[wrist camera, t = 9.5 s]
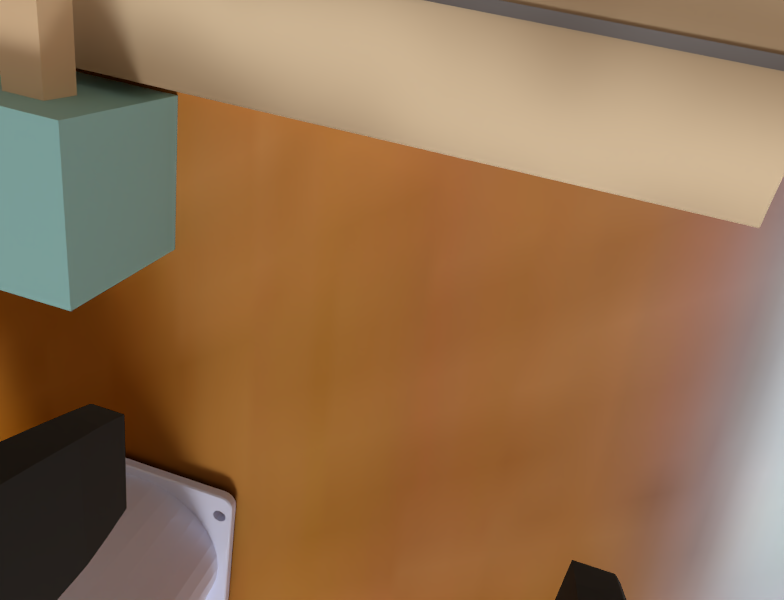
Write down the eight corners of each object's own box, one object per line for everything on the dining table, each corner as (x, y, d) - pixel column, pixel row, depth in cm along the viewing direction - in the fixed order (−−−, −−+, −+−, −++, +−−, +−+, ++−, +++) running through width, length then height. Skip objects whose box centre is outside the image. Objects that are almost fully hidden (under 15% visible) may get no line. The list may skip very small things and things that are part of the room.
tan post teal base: (175, 248, 21) (70, 311, 17) (70, 219, 22) (-58, 272, 17) (184, -194, 16) (32, -274, 11) (43, -216, 16) (-153, -301, 12)
